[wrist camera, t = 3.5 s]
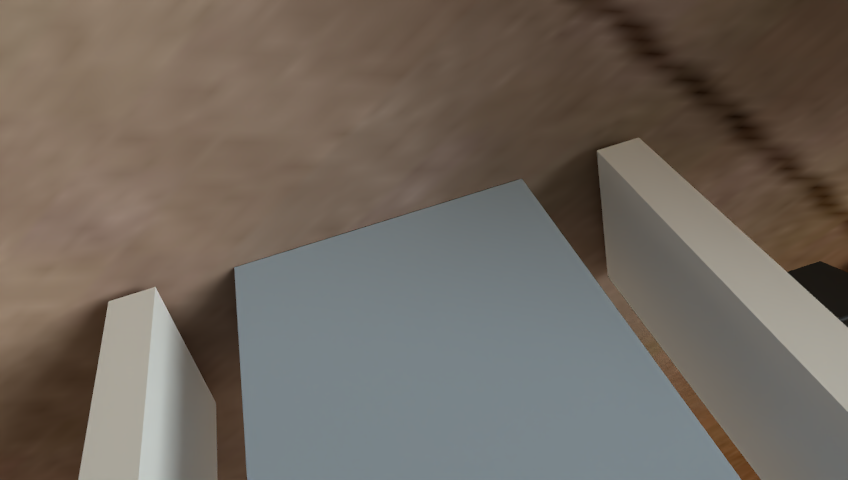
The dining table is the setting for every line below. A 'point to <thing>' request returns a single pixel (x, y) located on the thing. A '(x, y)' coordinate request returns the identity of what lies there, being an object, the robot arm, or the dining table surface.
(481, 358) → the domino
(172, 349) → the robot arm
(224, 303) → the dining table surface
